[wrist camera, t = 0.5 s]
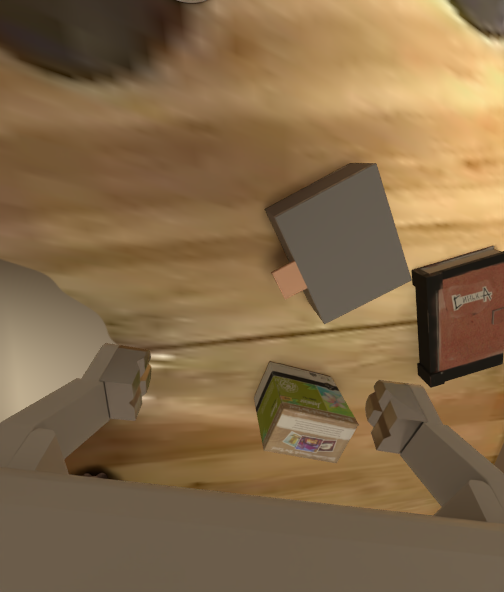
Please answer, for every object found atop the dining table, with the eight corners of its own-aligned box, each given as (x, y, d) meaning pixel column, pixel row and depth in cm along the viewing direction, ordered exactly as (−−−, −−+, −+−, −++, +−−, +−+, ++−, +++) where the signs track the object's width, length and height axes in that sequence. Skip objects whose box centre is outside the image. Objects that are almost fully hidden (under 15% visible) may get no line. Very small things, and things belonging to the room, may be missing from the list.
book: (488, 351, 74) (507, 364, 69) (416, 373, 73) (430, 387, 69) (494, 244, 63) (517, 250, 59) (410, 269, 63) (426, 277, 58)
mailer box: (264, 209, 54) (273, 216, 47) (350, 163, 53) (372, 163, 46) (308, 302, 62) (322, 321, 55) (384, 264, 61) (408, 278, 54)
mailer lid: (249, 229, 47) (250, 230, 46) (373, 163, 46) (376, 163, 45) (301, 332, 55) (303, 334, 54) (408, 278, 54) (411, 280, 53)
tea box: (331, 374, 70) (361, 425, 56) (313, 409, 73) (337, 466, 60) (268, 359, 66) (284, 410, 53) (252, 397, 69) (262, 454, 56)
